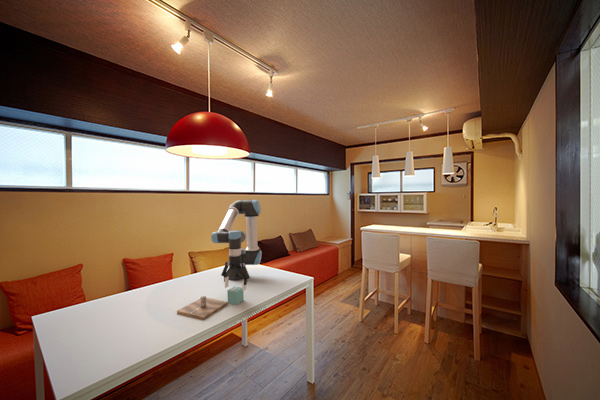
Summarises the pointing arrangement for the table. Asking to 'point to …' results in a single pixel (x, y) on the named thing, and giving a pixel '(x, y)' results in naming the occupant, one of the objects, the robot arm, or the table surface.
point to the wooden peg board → (202, 308)
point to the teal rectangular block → (235, 295)
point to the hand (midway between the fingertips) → (235, 288)
